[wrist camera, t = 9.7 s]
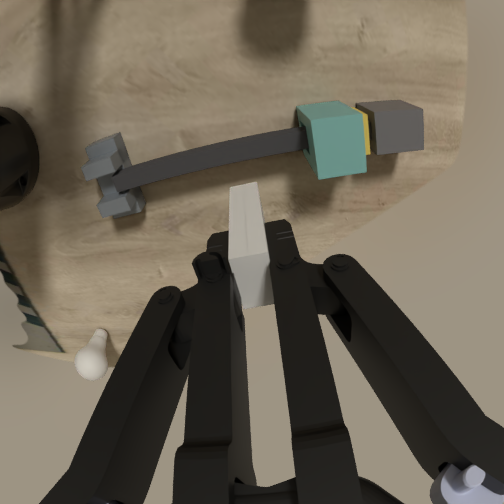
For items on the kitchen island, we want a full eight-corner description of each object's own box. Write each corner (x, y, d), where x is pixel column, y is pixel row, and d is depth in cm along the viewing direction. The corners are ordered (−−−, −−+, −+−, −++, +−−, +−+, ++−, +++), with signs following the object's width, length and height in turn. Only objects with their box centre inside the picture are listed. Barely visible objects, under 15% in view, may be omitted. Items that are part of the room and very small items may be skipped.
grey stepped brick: (119, 209, 40) (107, 229, 36) (93, 142, 34) (76, 155, 30) (145, 202, 40) (135, 221, 36) (120, 132, 34) (105, 143, 30)
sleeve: (303, 154, 36) (318, 179, 30) (295, 106, 33) (310, 120, 26) (343, 148, 36) (366, 172, 29) (338, 100, 32) (362, 113, 26)
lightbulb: (83, 327, 54) (65, 373, 45) (97, 314, 51) (78, 362, 42) (108, 344, 56) (94, 390, 47) (123, 332, 54) (109, 381, 45)
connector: (359, 140, 36) (377, 155, 31) (356, 103, 33) (374, 112, 28) (402, 135, 35) (423, 149, 31) (400, 99, 32) (423, 109, 28)
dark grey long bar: (128, 189, 37) (117, 206, 33) (116, 158, 35) (103, 171, 31) (399, 137, 34) (416, 148, 30) (397, 103, 32) (415, 111, 28)
